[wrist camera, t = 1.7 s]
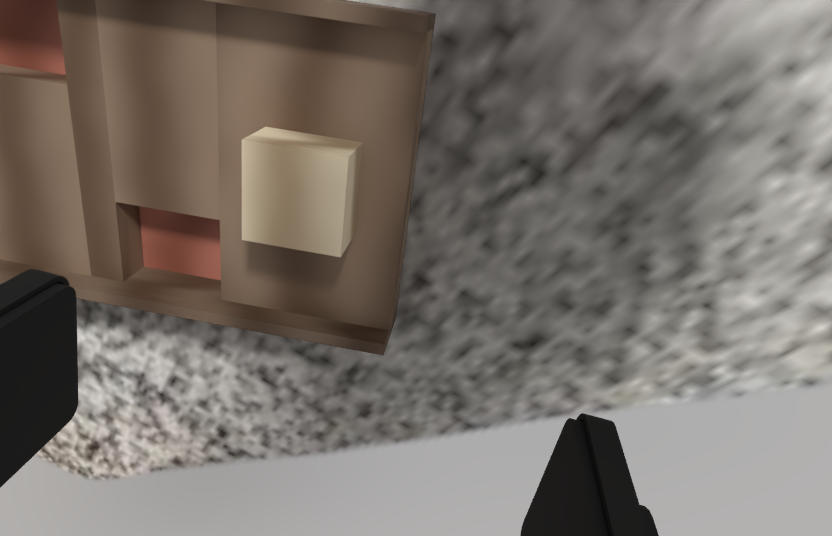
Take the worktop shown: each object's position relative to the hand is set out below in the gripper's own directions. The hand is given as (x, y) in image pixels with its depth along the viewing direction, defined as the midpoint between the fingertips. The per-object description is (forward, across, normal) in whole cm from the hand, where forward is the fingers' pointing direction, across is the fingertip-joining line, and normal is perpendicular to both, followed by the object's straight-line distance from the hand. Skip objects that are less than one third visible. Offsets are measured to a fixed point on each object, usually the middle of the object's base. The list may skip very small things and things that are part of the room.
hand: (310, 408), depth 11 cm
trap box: (+23, +14, +3) cm, 27 cm away
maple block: (+20, +6, +2) cm, 21 cm away
